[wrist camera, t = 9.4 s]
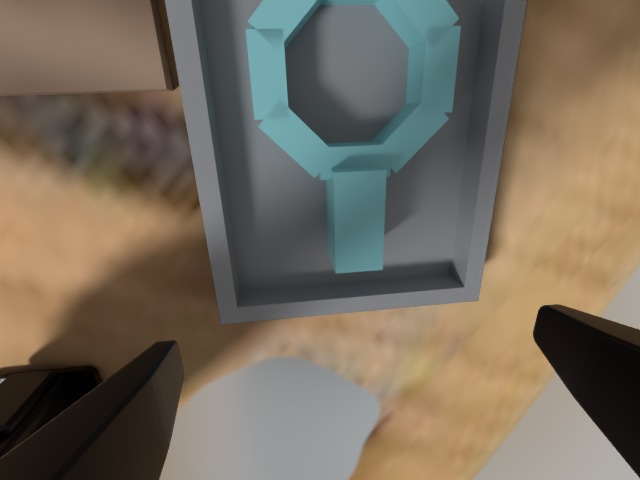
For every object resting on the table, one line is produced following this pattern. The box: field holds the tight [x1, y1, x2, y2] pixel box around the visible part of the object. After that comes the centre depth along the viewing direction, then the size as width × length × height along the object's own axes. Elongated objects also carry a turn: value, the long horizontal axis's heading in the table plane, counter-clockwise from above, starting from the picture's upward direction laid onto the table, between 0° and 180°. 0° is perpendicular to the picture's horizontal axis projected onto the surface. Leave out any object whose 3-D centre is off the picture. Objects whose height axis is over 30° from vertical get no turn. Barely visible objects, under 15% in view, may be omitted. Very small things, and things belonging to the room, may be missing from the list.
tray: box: [165, 0, 527, 325], centre depth 16 cm, size 20×15×2 cm
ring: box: [245, 0, 461, 274], centre depth 15 cm, size 14×9×3 cm, turn 2°
